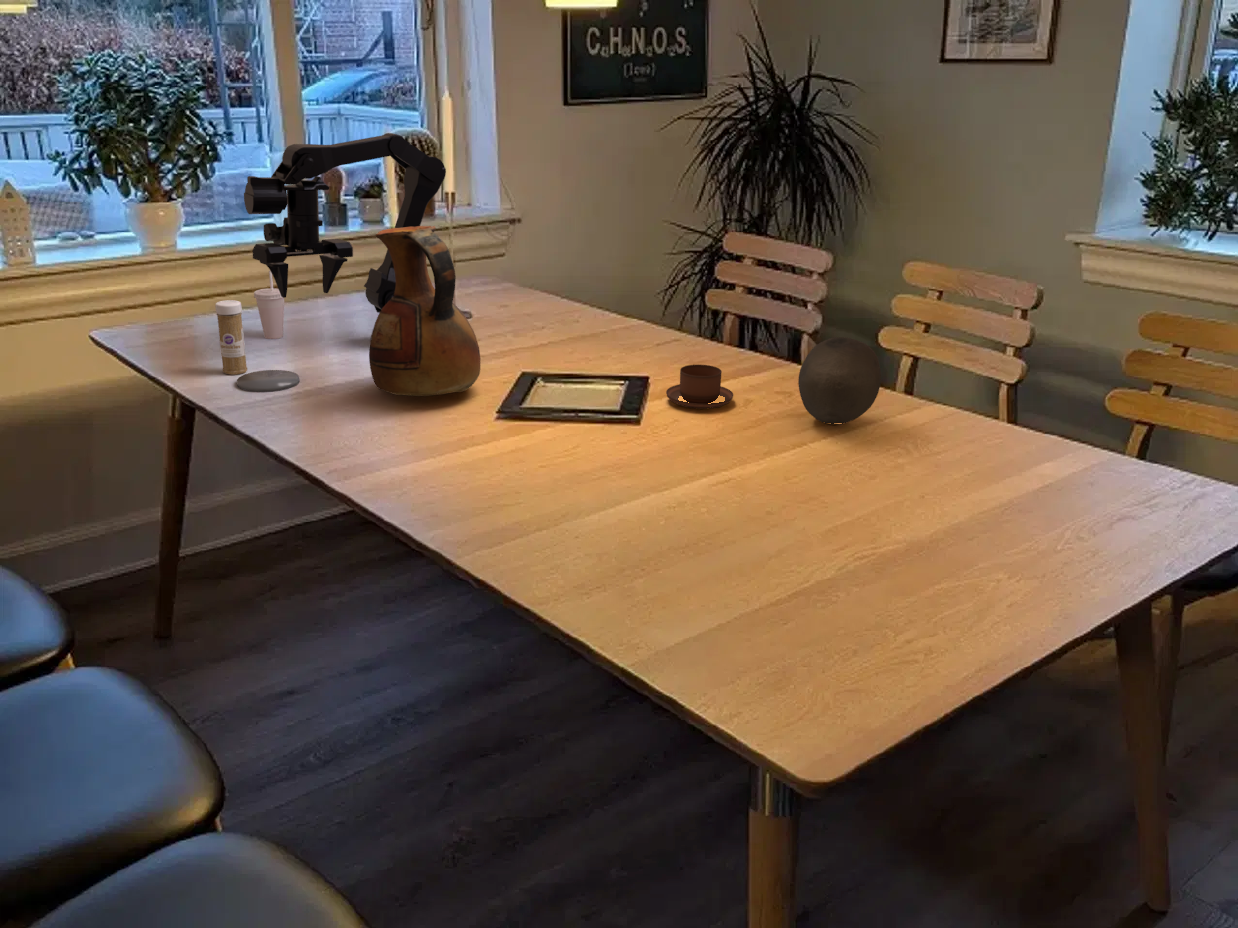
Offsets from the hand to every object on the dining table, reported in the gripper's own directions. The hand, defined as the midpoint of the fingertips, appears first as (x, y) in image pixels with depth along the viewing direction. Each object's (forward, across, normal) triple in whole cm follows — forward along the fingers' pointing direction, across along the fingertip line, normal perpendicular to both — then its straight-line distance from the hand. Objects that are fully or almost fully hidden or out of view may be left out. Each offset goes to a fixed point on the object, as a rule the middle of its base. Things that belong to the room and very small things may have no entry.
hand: (305, 295), depth 217 cm
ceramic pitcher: (+12, -4, +34) cm, 36 cm away
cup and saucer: (+10, -36, +71) cm, 80 cm away
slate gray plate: (+13, +14, +10) cm, 21 cm away
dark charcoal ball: (+9, -44, +95) cm, 105 cm away
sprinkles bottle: (+14, +15, 0) cm, 20 cm away
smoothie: (+13, -3, -18) cm, 22 cm away
